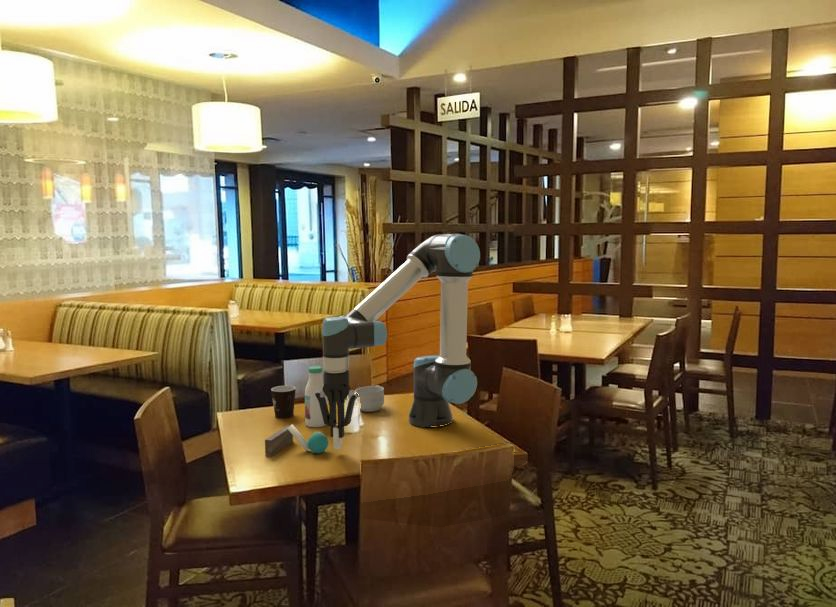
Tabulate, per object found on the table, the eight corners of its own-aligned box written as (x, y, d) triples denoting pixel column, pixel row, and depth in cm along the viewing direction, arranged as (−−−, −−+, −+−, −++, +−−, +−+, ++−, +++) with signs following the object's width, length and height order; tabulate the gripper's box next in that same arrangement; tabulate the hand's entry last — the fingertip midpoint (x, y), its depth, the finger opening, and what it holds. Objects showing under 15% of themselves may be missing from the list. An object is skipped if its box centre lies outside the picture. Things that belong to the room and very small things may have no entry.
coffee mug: (273, 412, 232) (272, 386, 231) (297, 412, 233) (296, 385, 231) (269, 422, 220) (268, 394, 219) (294, 421, 221) (293, 393, 220)
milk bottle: (330, 421, 221) (329, 365, 219) (325, 428, 214) (323, 370, 211) (308, 420, 222) (307, 364, 220) (302, 427, 214) (301, 369, 212)
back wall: (293, 441, 201) (292, 426, 200) (271, 456, 187) (271, 440, 187) (287, 440, 201) (286, 425, 201) (265, 456, 188) (264, 439, 187)
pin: (312, 446, 192) (293, 423, 193) (309, 448, 190) (290, 425, 191) (308, 450, 193) (289, 427, 194) (305, 452, 191) (286, 429, 192)
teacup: (372, 415, 228) (372, 393, 227) (349, 411, 234) (348, 389, 233) (394, 406, 240) (394, 385, 239) (371, 402, 245) (371, 382, 244)
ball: (312, 429, 193) (312, 448, 194) (305, 434, 188) (304, 454, 188) (331, 431, 192) (330, 450, 193) (324, 436, 186) (323, 456, 187)
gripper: (361, 368, 188) (362, 445, 191) (320, 366, 191) (322, 442, 194) (352, 374, 181) (353, 454, 184) (310, 371, 184) (312, 450, 187)
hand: (337, 447), depth 189 cm, fingers closed
